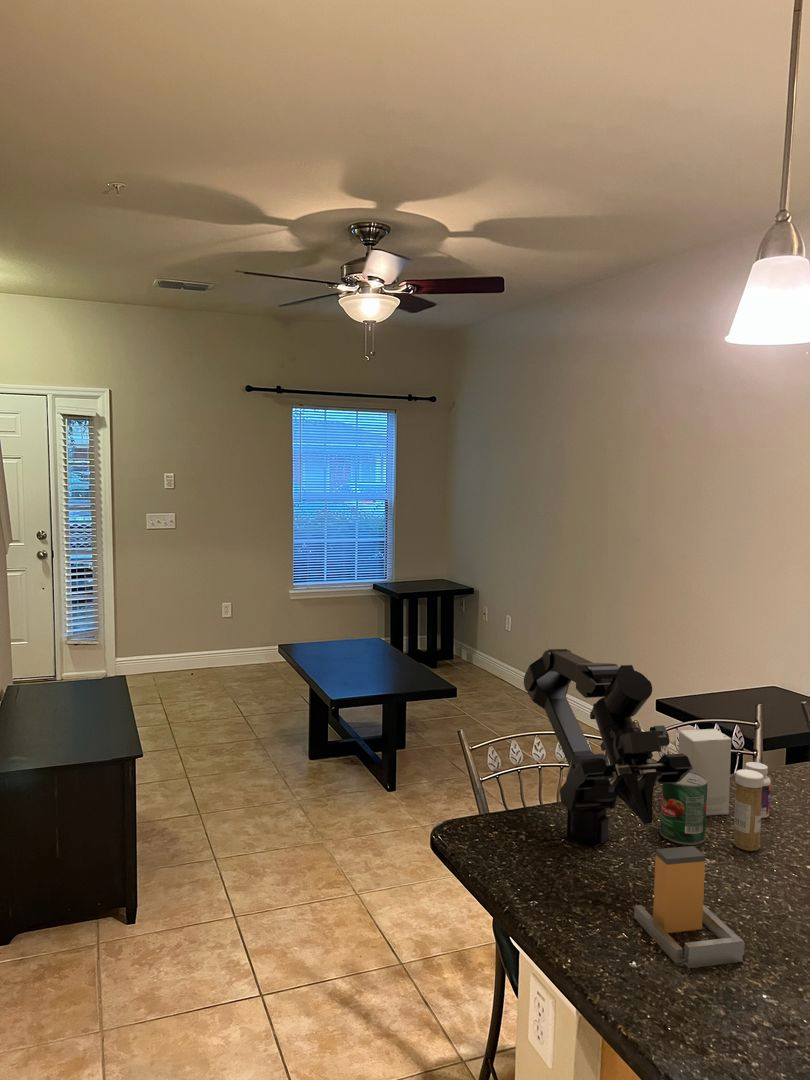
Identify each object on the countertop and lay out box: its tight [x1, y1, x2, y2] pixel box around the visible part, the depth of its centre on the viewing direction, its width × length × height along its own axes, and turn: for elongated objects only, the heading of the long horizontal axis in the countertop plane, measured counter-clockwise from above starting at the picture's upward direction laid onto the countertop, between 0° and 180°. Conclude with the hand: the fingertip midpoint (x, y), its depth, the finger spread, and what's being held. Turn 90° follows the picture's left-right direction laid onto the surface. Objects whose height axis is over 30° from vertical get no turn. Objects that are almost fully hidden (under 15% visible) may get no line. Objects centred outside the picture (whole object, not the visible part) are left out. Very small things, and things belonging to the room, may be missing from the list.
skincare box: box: [677, 728, 733, 817], centre depth 152 cm, size 8×7×16 cm
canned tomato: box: [659, 771, 708, 846], centre depth 141 cm, size 8×8×11 cm
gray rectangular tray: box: [633, 904, 746, 969], centre depth 108 cm, size 16×10×4 cm, turn 12°
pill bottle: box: [744, 761, 772, 819], centre depth 151 cm, size 5×5×10 cm
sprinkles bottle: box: [732, 768, 764, 852], centre depth 137 cm, size 5×5×14 cm
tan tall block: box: [652, 845, 706, 934], centre depth 109 cm, size 3×6×11 cm, turn 102°
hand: (649, 823), depth 117 cm, fingers closed
